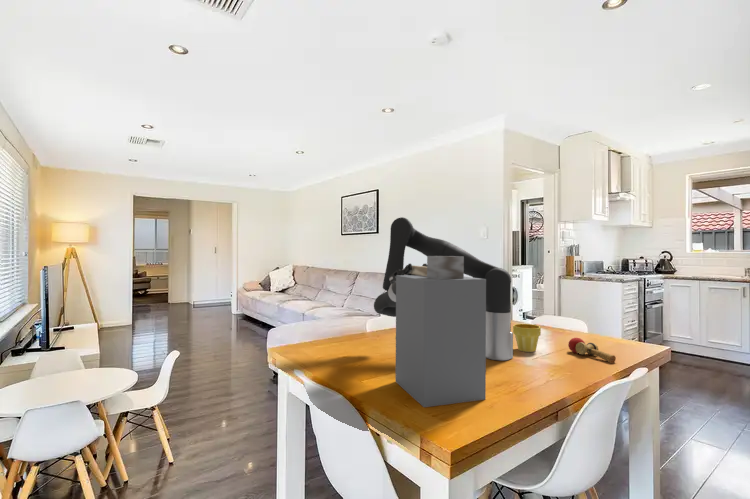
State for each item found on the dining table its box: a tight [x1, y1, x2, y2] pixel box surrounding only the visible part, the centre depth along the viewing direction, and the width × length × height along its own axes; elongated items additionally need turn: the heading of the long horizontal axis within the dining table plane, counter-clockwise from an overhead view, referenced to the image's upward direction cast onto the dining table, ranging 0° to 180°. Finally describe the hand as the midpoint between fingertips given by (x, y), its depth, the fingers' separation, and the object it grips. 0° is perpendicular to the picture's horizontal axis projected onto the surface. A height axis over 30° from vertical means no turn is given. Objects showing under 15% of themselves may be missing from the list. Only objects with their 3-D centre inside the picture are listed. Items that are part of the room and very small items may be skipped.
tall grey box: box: [395, 275, 487, 408], centre depth 109 cm, size 18×20×32 cm
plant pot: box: [512, 323, 542, 353], centre depth 154 cm, size 10×10×10 cm
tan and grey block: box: [405, 256, 465, 279], centre depth 116 cm, size 8×28×6 cm, turn 18°
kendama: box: [568, 337, 617, 364], centre depth 145 cm, size 8×6×18 cm
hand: (418, 266), depth 122 cm, fingers open, 4 cm apart
